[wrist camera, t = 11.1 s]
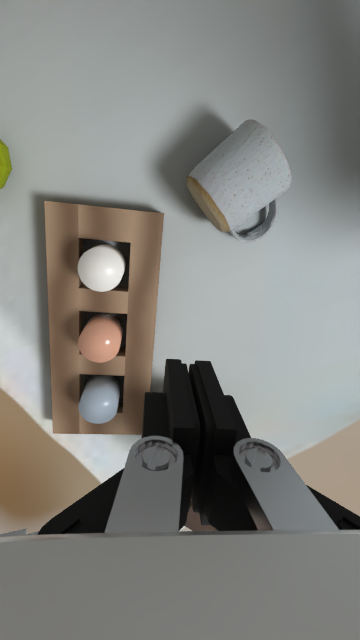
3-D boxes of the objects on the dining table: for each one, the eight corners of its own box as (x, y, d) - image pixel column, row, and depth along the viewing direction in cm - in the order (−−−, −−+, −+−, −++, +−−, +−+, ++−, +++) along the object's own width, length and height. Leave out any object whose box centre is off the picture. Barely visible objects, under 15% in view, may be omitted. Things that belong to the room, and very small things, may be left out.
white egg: (126, 246, 34) (123, 249, 30) (124, 285, 35) (122, 293, 31) (85, 242, 33) (77, 245, 29) (85, 282, 34) (77, 290, 31)
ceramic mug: (177, 182, 33) (186, 174, 26) (235, 129, 32) (262, 105, 25) (232, 256, 37) (254, 267, 30) (287, 211, 36) (324, 210, 28)
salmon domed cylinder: (123, 314, 36) (120, 326, 32) (122, 348, 37) (119, 363, 34) (85, 312, 35) (77, 323, 32) (85, 346, 37) (78, 361, 33)
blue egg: (120, 374, 38) (118, 391, 35) (119, 404, 40) (116, 424, 36) (85, 373, 38) (78, 390, 34) (85, 403, 39) (78, 423, 36)
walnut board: (162, 213, 34) (163, 213, 32) (146, 422, 43) (146, 434, 40) (51, 201, 33) (44, 200, 30) (58, 421, 41) (53, 433, 39)
